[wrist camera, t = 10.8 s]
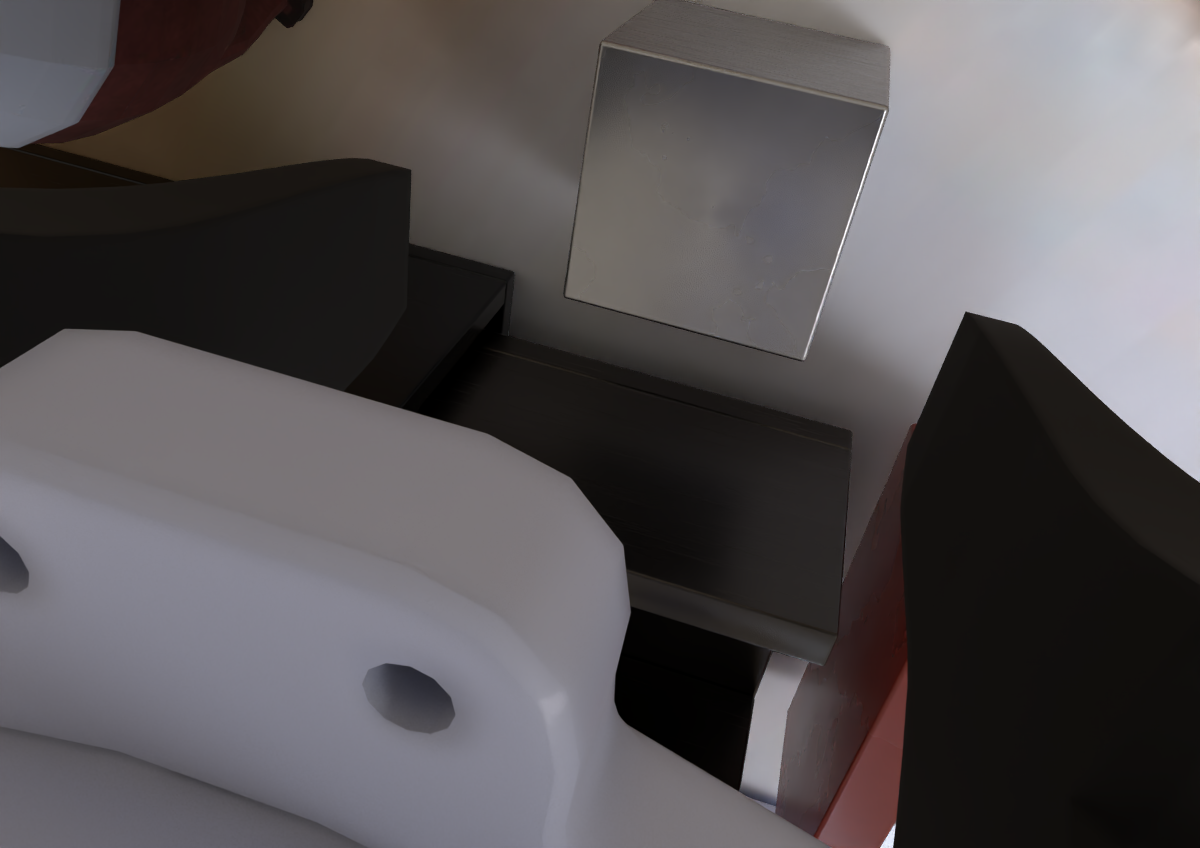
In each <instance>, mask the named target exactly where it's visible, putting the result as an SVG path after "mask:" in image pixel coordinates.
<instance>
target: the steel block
mask: <svg viewBox="0 0 1200 848" xmlns="http://www.w3.org/2000/svg"><path fill="white" fill-rule="evenodd" d="M890 53H891V51H890V48H889V47H888V46H884V45H880V44H875V43H871V42H866V41H862V40H857V39H853V38H848V37H844V36H839V35H835V34H830V33H826V32H821V31H817V30H812V29H808V28H803V27H798V26H794V25H789V24H785V23H780V22H776V21H771V20H767V19H762V18H758V17H753V16H749V15H744V14H740V13H735V12H731V11H726V10H722V9H717V8H713V7H708V6H704V5H699V4H695V3H690V2H686V1H681V0H655V1H654V2H653V3H652V4H650V5H649V6H648V7H646V8H645V9H644V10H642V11H641V12H640V13H638V14H637V15H636V16H634V17H633V18H632V19H630V20H629V21H628V22H626V23H625V24H624V25H622V26H621V27H620V28H618V29H617V30H616V31H614V32H613V33H612V34H610V35H609V36H608V37H606V38H605V39H604V40H602V41H601V43H600V45H599V52H598V59H597V66H596V73H595V80H594V86H593V93H592V100H591V107H590V114H589V121H588V127H587V134H586V141H585V148H584V155H583V162H582V169H581V175H580V182H579V189H578V196H577V203H576V210H575V216H574V223H573V230H572V237H571V244H570V251H569V258H568V264H567V271H566V278H565V285H564V292H563V294H564V297H565V298H567V299H571V300H575V301H578V302H582V303H586V304H590V305H593V306H597V307H601V308H605V309H608V310H612V311H616V312H619V313H623V314H627V315H631V316H634V317H638V318H642V319H645V320H649V321H653V322H657V323H660V324H664V325H668V326H672V327H675V328H679V329H683V330H686V331H690V332H694V333H698V334H701V335H705V336H709V337H712V338H716V339H720V340H724V341H727V342H731V343H735V344H738V345H742V346H746V347H750V348H753V349H757V350H761V351H765V352H768V353H772V354H776V355H779V356H783V357H787V358H791V359H794V360H798V361H805V360H806V359H807V356H808V353H809V350H810V347H811V344H812V341H813V338H814V335H815V332H816V329H817V326H818V323H819V320H820V316H821V313H822V310H823V307H824V304H825V301H826V298H827V295H828V292H829V289H830V286H831V283H832V280H833V277H834V274H835V271H836V268H837V265H838V262H839V259H840V256H841V253H842V250H843V247H844V244H845V241H846V238H847V235H848V232H849V229H850V226H851V223H852V220H853V217H854V214H855V211H856V208H857V205H858V202H859V199H860V196H861V193H862V190H863V187H864V184H865V181H866V178H867V175H868V172H869V169H870V166H871V163H872V160H873V157H874V154H875V151H876V148H877V145H878V142H879V139H880V136H881V133H882V130H883V127H884V124H885V121H886V118H887V115H888V112H889V88H890Z"/></svg>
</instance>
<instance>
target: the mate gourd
mask: <svg viewBox="0 0 1200 848" xmlns="http://www.w3.org/2000/svg"><path fill="white" fill-rule="evenodd" d="M312 5H313V0H0V147H7V148H20V147H22V146H25V145H27V144H39V143H64V142H68V141H72V140H76V139H80V138H84V137H88V136H92V135H96V134H99V133H101V132H103V131H106V130H108V129H111V128H113V127H116V126H118V125H120V124H123V123H125V122H128V121H130V120H133V119H135V118H137V117H140V116H142V115H145V114H147V113H149V112H152V111H154V110H156V109H157V108H159V107H161V106H163V105H165V104H166V103H168V102H170V101H172V100H174V99H175V98H177V97H179V96H181V95H182V94H184V93H185V92H186V91H188V90H189V89H190V88H191V87H193V86H194V85H195V84H197V83H198V82H199V81H200V80H202V79H203V78H204V77H206V76H207V75H208V74H210V73H211V72H212V71H214V70H216V69H218V68H219V67H221V66H223V65H225V64H227V63H228V62H230V61H232V60H234V59H236V58H237V57H239V56H241V55H243V54H244V53H245V52H246V51H247V50H248V48H249V47H250V46H251V45H252V44H253V43H254V42H255V41H256V40H257V39H258V38H259V36H260V35H261V34H262V32H263V31H264V30H265V28H266V27H267V26H268V24H269V23H270V22H271V21H272V20H273V19H274V18H276V19H277V20H278V21H279V22H281V23H282V24H283V25H284V26H285V27H286V28H290V27H293V26H294V25H295V24H296V23H297V22H298V21H301V20H302V19H303V18H304V16H305V15H306V14H307V12H308V11H309V10H310V9H311V7H312Z"/></svg>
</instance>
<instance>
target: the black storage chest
mask: <svg viewBox="0 0 1200 848" xmlns="http://www.w3.org/2000/svg"><path fill="white" fill-rule="evenodd" d="M166 182H174V181H172V180H168V179H165V178H161V177H157V176H153V175H150V174H146V173H142V172H139V171H135V170H131V169H127V168H124V167H120V166H116V165H112V164H109V163H105V162H101V161H97V160H94V159H90V158H86V157H82V156H79V155H75V154H71V153H67V152H64V151H60V150H56V149H52V148H49V147H45V146H41V145H37V144H27V145H25V146H22V147H20V148H7V147H0V188H40V189H74V188H98V187H120V186H134V185H147V184H157V183H166ZM514 276H515V274H514V272H513V271H509V270H506V269H502V268H498V267H494V266H491V265H487V264H483V263H480V262H476V261H472V260H468V259H465V258H461V257H457V256H453V255H450V254H446V253H442V252H438V251H435V250H431V249H427V248H423V247H420V246H416V245H412V244H409V255H408V284H407V308H406V310H405V311H404V313H403V314H402V316H401V318H400V319H399V321H398V322H397V324H396V326H395V327H394V329H393V330H392V332H391V334H390V335H389V337H388V338H387V340H386V341H385V342H384V344H383V345H382V347H381V348H380V350H379V351H378V353H377V354H376V355H375V357H374V358H373V359H372V361H371V362H370V363H369V364H368V365H367V366H366V367H365V369H364V370H363V371H362V372H361V373H360V374H359V375H358V376H357V377H356V378H355V379H354V380H353V382H352V383H351V384H350V385H349V386H348V387H347V388H346V389H345V390H344V391H343V392H346V393H349V394H353V395H356V396H359V397H363V398H366V399H370V400H373V401H376V402H380V403H383V404H387V405H390V406H394V407H397V408H400V409H404V410H407V411H411V412H414V413H416V411H417V410H418V409H419V408H420V406H421V405H422V404H423V403H424V402H425V400H426V399H427V398H428V397H429V395H430V394H431V393H432V392H433V390H434V389H435V388H436V387H437V386H438V384H439V383H440V382H441V381H442V379H443V378H444V377H445V376H446V374H447V373H448V372H449V371H450V369H451V368H452V367H453V366H454V365H455V363H456V362H457V361H458V360H459V358H460V357H461V356H462V355H463V353H464V352H465V351H466V350H467V349H468V347H469V346H470V345H471V344H472V342H473V341H474V340H475V339H476V337H477V336H478V335H479V334H480V332H481V331H482V330H483V329H485V330H489V331H492V332H496V333H500V334H503V335H507V336H508V331H509V322H510V313H511V304H512V295H513V285H514Z"/></svg>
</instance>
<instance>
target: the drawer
mask: <svg viewBox="0 0 1200 848" xmlns="http://www.w3.org/2000/svg"><path fill="white" fill-rule="evenodd" d="M416 413H418V414H421V415H424V416H428V417H431V418H435V419H438V420H442V421H445V422H448V423H452V424H455V425H459V426H462V427H466V428H469V429H472V430H476V431H479V432H483V433H486V434H489V435H491V436H493V437H495V438H496V439H498V440H500V441H502V442H504V443H506V444H508V445H510V446H512V447H513V448H515V449H517V450H519V451H521V452H523V453H525V454H527V455H528V456H530V457H532V458H534V459H536V460H538V461H540V462H542V463H543V464H545V465H547V466H549V467H551V468H553V469H555V470H557V471H559V472H560V473H562V474H564V475H566V476H568V477H570V478H571V479H572V480H573V481H574V483H575V484H576V485H577V487H578V488H579V489H580V490H581V492H582V493H583V494H584V495H585V497H586V498H587V499H588V501H589V502H590V503H591V504H592V506H593V507H594V508H595V510H596V511H597V512H598V513H599V515H600V516H601V517H602V519H603V520H604V521H605V522H606V524H607V525H608V526H609V528H610V529H611V530H612V531H613V533H614V534H615V535H616V537H617V538H618V539H619V540H620V542H621V543H622V544H623V547H624V556H625V565H626V574H627V583H628V592H629V601H630V610H631V614H630V618H629V622H628V626H627V630H626V634H625V638H624V642H623V646H622V650H621V654H620V658H619V662H618V666H617V670H616V674H615V692H614V702H615V706H616V709H617V712H618V715H619V716H620V717H621V718H622V720H623V721H624V722H625V723H626V724H627V725H629V726H630V727H632V728H634V729H635V730H637V731H639V732H640V733H642V734H644V735H645V736H647V737H649V738H650V739H652V740H654V741H655V742H657V743H659V744H660V745H662V746H664V747H665V748H667V749H669V750H670V751H672V752H674V753H675V754H677V755H679V756H680V757H682V758H684V759H685V760H687V761H689V762H690V763H692V764H694V765H695V766H697V767H699V768H700V769H702V770H704V771H705V772H707V773H708V774H710V775H712V776H713V777H715V778H717V779H718V780H720V781H722V782H723V783H725V784H727V785H728V786H730V787H732V788H733V789H735V790H737V791H738V792H740V787H741V781H742V775H743V769H744V762H745V756H746V750H747V744H748V738H749V731H750V725H751V719H752V713H753V707H754V701H755V700H754V698H755V695H756V693H757V690H758V688H759V685H760V682H761V680H762V677H763V675H764V672H765V670H766V667H767V665H768V662H769V660H770V657H771V654H772V652H773V651H775V652H778V653H782V654H785V655H788V656H791V657H794V658H798V659H801V660H804V661H807V662H809V663H808V665H807V667H806V670H805V672H804V674H803V677H802V679H801V681H800V684H799V686H798V688H797V691H796V693H795V695H794V698H793V700H792V702H791V705H790V707H789V709H788V712H787V720H786V729H785V737H784V745H783V753H782V761H781V769H780V777H779V786H778V794H777V802H776V810H775V814H777V815H778V816H780V817H782V818H783V819H785V820H787V821H788V822H790V823H792V824H793V825H795V826H797V827H798V828H800V829H802V830H803V831H805V832H807V833H808V834H810V835H812V836H813V837H815V838H817V839H818V840H820V841H822V842H823V843H825V844H827V845H828V846H830V847H832V848H880V847H881V845H882V844H883V842H884V840H885V839H886V837H887V835H888V834H889V832H890V830H891V829H892V827H893V826H896V817H897V807H898V796H899V785H900V774H901V764H902V753H903V739H904V725H905V711H906V698H907V683H908V681H907V634H906V616H905V598H904V580H903V563H902V542H901V520H900V505H901V495H902V484H903V475H904V467H905V459H906V451H907V445H908V443H909V441H910V438H911V436H912V434H913V431H914V429H915V427H916V425H917V423H913V424H912V425H911V426H910V428H909V431H908V433H907V435H906V438H905V440H904V442H903V445H902V447H901V449H900V452H899V454H898V456H897V459H896V461H895V463H894V466H893V468H892V470H891V472H890V475H889V477H888V479H887V482H886V484H885V486H884V489H883V491H882V493H881V496H880V498H879V500H878V503H877V505H876V507H875V510H874V512H873V514H872V517H871V519H870V521H869V524H868V526H867V528H866V531H865V533H864V535H863V537H862V540H861V542H860V544H859V547H858V549H857V551H856V554H855V556H854V558H853V561H852V563H851V565H850V568H849V570H848V572H847V575H846V577H845V579H844V582H843V584H842V578H843V564H844V550H845V536H846V522H847V508H848V494H849V480H850V467H851V448H852V431H850V430H847V429H843V428H839V427H836V426H832V425H829V424H825V423H821V422H818V421H814V420H811V419H807V418H803V417H800V416H796V415H792V414H789V413H785V412H782V411H778V410H774V409H771V408H767V407H764V406H760V405H756V404H753V403H749V402H745V401H742V400H738V399H735V398H731V397H727V396H724V395H720V394H716V393H713V392H709V391H706V390H702V389H698V388H695V387H691V386H688V385H684V384H680V383H677V382H673V381H669V380H666V379H662V378H659V377H655V376H651V375H648V374H644V373H641V372H637V371H633V370H630V369H626V368H622V367H619V366H615V365H612V364H608V363H604V362H601V361H597V360H594V359H590V358H586V357H583V356H579V355H575V354H572V353H568V352H565V351H561V350H557V349H554V348H550V347H547V346H543V345H539V344H536V343H532V342H528V341H525V340H521V339H518V338H514V337H510V336H507V335H503V334H500V333H496V332H492V331H489V330H485V329H483V330H482V331H481V332H480V334H479V335H478V336H477V337H476V339H475V340H474V341H473V342H472V344H471V345H470V346H469V347H468V349H467V350H466V351H465V352H464V353H463V355H462V356H461V357H460V358H459V360H458V361H457V362H456V363H455V365H454V366H453V367H452V368H451V369H450V371H449V372H448V373H447V374H446V376H445V377H444V378H443V379H442V381H441V382H440V383H439V384H438V386H437V387H436V388H435V389H434V390H433V392H432V393H431V394H430V395H429V397H428V398H427V399H426V400H425V402H424V403H423V404H422V405H421V406H420V408H419V409H418V410H417V411H416Z"/></svg>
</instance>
